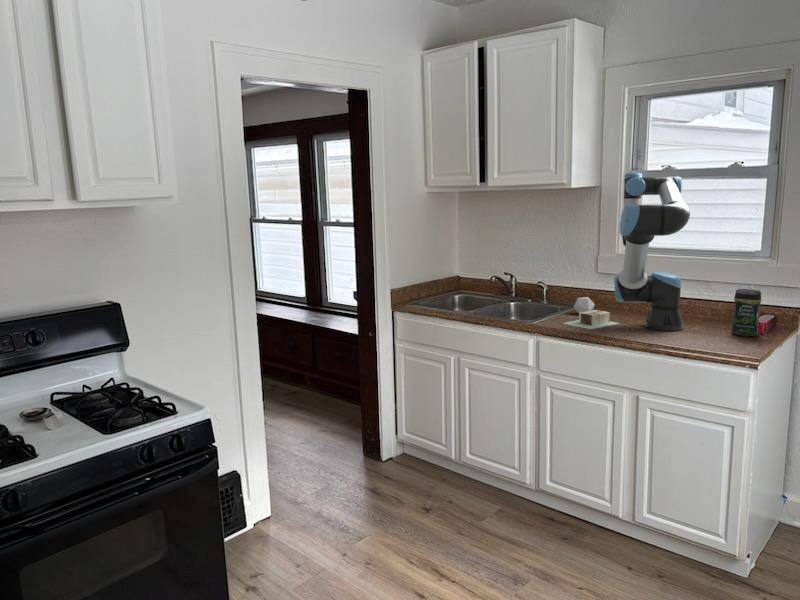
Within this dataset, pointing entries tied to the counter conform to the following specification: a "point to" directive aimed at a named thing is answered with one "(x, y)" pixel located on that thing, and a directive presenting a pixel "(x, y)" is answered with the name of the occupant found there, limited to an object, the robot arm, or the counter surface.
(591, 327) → the mat
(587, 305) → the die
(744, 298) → the coffee jar
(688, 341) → the counter surface
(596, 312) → the maple slab
